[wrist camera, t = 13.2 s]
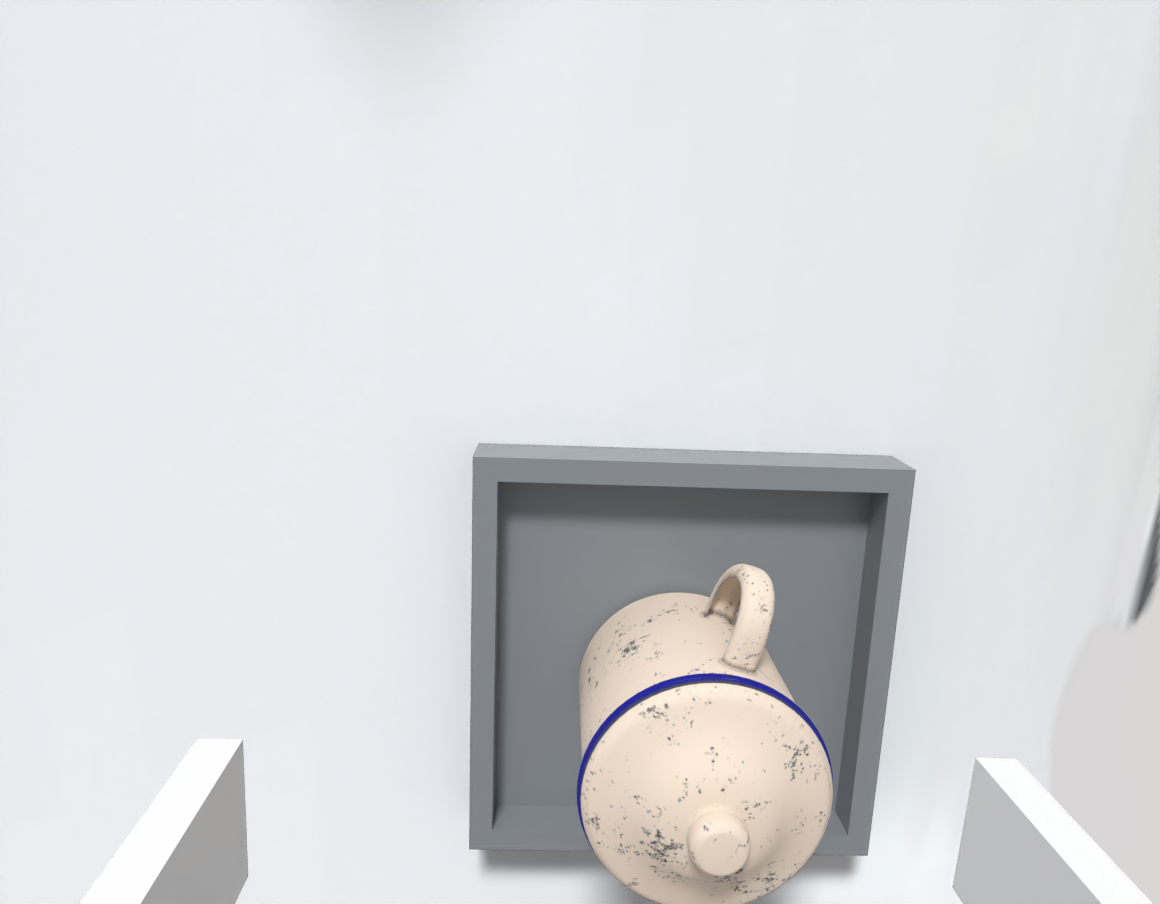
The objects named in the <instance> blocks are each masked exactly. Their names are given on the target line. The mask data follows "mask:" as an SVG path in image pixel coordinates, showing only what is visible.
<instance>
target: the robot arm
mask: <svg viewBox="0 0 1160 904" xmlns="http://www.w3.org/2000/svg"><path fill="white" fill-rule="evenodd" d="M247 877H248V859H247V833H246V807H245V782H244V756H243V739H208V738H198V739H197V740H196V742H195V743H194V744H193V746H192V747H191V749H190V750H189V751H188V753H187V754H186V756H185V757H184V758H183V760H182V761H181V763H180V764H179V765H178V767H177V768H176V769H175V771H174V772H173V774H172V775H171V776H170V778H169V779H168V781H167V782H166V783H165V785H164V786H163V788H162V789H161V790H160V792H159V793H158V795H157V796H156V797H155V799H154V800H153V802H152V803H151V804H150V806H149V807H148V808H147V810H146V811H145V813H144V814H143V815H142V817H141V818H140V820H139V821H138V822H137V824H136V825H135V827H134V828H133V829H132V831H131V832H130V834H129V835H128V836H127V838H126V839H125V841H124V842H123V843H122V845H121V846H120V847H119V849H118V850H117V852H116V853H115V854H114V856H113V857H112V859H111V860H110V861H109V863H108V864H107V866H106V867H105V868H104V870H103V871H102V873H101V874H100V875H99V877H98V878H97V880H96V881H95V882H94V884H93V885H92V887H91V888H90V889H89V891H88V892H87V893H86V895H85V896H84V898H83V899H82V900H81V902H80V903H79V904H235V902H236V900H237V898H238V896H239V894H240V892H241V890H242V887H243V885H244V883H245V881H246V879H247ZM953 889H954V890H955V892H956V893H957V895H958V896H959V898H960V900H961V901H962V903H963V904H1153V903H1152V902H1151V901H1150V900H1149V899H1148V898H1147V897H1146V896H1145V895H1144V894H1143V893H1142V892H1141V891H1140V890H1139V889H1138V887H1137V886H1136V885H1135V884H1134V883H1133V882H1132V881H1131V880H1130V879H1129V878H1128V877H1127V876H1126V875H1125V874H1124V873H1123V872H1122V870H1120V868H1119V867H1118V866H1117V865H1116V864H1115V863H1114V862H1113V861H1112V860H1111V859H1110V858H1109V857H1108V856H1107V855H1106V853H1105V852H1104V851H1103V850H1102V849H1101V848H1100V847H1099V846H1098V845H1097V844H1096V843H1095V842H1094V841H1093V840H1092V839H1091V838H1090V836H1088V834H1087V833H1086V832H1085V831H1084V830H1083V829H1082V828H1081V827H1080V826H1079V825H1078V824H1077V823H1076V822H1075V820H1074V819H1073V818H1072V817H1071V816H1070V815H1069V814H1068V813H1067V812H1066V811H1065V810H1064V809H1063V808H1062V807H1061V806H1060V805H1059V803H1058V802H1057V801H1056V800H1055V799H1054V798H1053V797H1052V796H1051V795H1050V794H1049V793H1048V792H1047V791H1046V790H1045V789H1044V788H1043V786H1042V785H1041V784H1040V783H1039V782H1038V781H1037V780H1036V779H1035V778H1034V777H1033V776H1032V775H1031V774H1030V773H1029V772H1028V771H1027V769H1026V768H1025V767H1024V766H1023V765H1022V764H1021V763H1020V762H1019V761H1018V760H1017V759H1008V758H976V759H975V764H974V770H973V775H972V781H971V787H970V792H969V798H968V804H967V809H966V815H965V820H964V826H963V832H962V837H961V843H960V848H959V854H958V860H957V865H956V871H955V876H954V882H953Z"/></svg>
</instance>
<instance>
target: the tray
mask: <svg viewBox="0 0 1160 904" xmlns="http://www.w3.org/2000/svg"><path fill="white" fill-rule="evenodd" d="M915 472H916V470H915V469H913V468H911V467H910V466H908V465H906V464H904V463H903V462H901V461H899V460H897V459H896V458H894V457H892V456H875V455H842V454H810V453H777V452H744V451H711V450H678V449H646V448H613V447H580V446H547V445H515V444H482V443H479V444H478V447H477V449H476V451H475V453H474V455H473V499H472V609H471V719H470V829H469V849H480V850H544V851H594V850H593V849H592V847H591V846H590V844H589V842H588V840H587V838H586V836H585V833H584V831H583V828H582V825H581V821H580V818H579V813H578V806H577V780H578V775H579V770H580V766H581V762H582V750H581V728H580V705H579V673H580V668H581V664H582V660H583V657H584V654H585V652H586V649H587V647H588V645H589V643H590V641H591V640H592V638H593V637H594V635H595V634H596V632H597V631H598V630H599V629H600V627H601V626H602V625H603V624H604V623H605V622H606V621H607V620H608V619H609V618H610V617H612V616H613V615H614V614H615V613H617V612H618V611H619V610H621V609H622V608H624V607H626V606H628V605H629V604H631V603H633V602H636V601H638V600H640V599H643V598H646V597H649V596H653V595H658V594H664V593H677V592H681V593H692V594H699V595H703V596H707V597H710V596H711V593H712V591H713V589H714V587H715V585H716V584H717V582H718V580H719V579H720V577H721V576H722V575H723V574H724V573H725V572H726V571H727V570H728V569H729V568H731V567H732V566H734V565H737V564H747V565H751V566H754V567H757V568H760V569H762V570H763V571H765V572H766V573H767V574H768V576H769V577H770V579H771V581H772V584H773V587H774V593H775V606H774V615H773V620H772V625H771V629H770V633H769V636H768V639H767V642H766V645H765V647H766V649H767V651H768V653H769V655H770V657H771V659H772V660H773V662H774V664H775V666H776V668H777V670H778V671H779V673H780V675H781V677H782V679H783V681H784V683H785V684H786V686H787V688H788V690H789V692H790V694H791V696H792V697H793V699H794V701H795V703H796V705H797V706H798V707H800V708H801V709H802V710H803V711H804V713H805V714H806V715H807V716H808V717H809V718H810V720H811V721H812V722H813V724H814V725H815V726H816V728H817V730H818V731H819V733H820V735H821V737H822V739H823V741H824V743H825V746H826V748H827V751H828V754H829V757H830V761H831V766H832V772H833V800H832V807H831V813H830V817H829V821H828V824H827V827H826V829H825V832H824V834H823V837H822V839H821V841H820V843H819V845H818V846H817V848H816V850H815V851H814V853H813V854H812V855H859V856H867V855H868V847H869V840H870V832H871V824H872V816H873V808H874V800H875V792H876V784H877V776H878V768H879V760H880V752H881V744H882V736H883V728H884V720H885V712H886V704H887V696H888V688H889V680H890V672H891V664H892V656H893V648H894V640H895V632H896V624H897V616H898V608H899V600H900V592H901V584H902V576H903V568H904V560H905V552H906V544H907V536H908V528H909V520H910V512H911V504H912V496H913V488H914V480H915ZM739 608H740V606H739ZM739 608H738V610H737V612H738V613H739Z"/></svg>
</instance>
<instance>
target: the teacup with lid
mask: <svg viewBox="0 0 1160 904" xmlns="http://www.w3.org/2000/svg"><path fill="white" fill-rule="evenodd" d="M739 606H740V608H739ZM774 606H775V593H774V587H773V584H772V581H771V579H770V577H769V576H768V574H767V573H766V572H765V571H763V570H762V569H760V568H757V567H754V566H751V565H747V564H737V565H734V566H732V567H731V568H729V569H728V570H727V571H726V572H725V573H724V574H723V575H722V576H721V577H720V579H719V580H718V582H717V584H716V585H715V587H714V589H713V591H712V593H711V596H710V597H707V596H703V595H699V594H692V593H681V592H677V593H664V594H658V595H653V596H649V597H646V598H643V599H640V600H638V601H636V602H633V603H631V604H629V605H628V606H626V607H624V608H622V609H621V610H619V611H618V612H617V613H615V614H614V615H613V616H612V617H610V618H609V619H608V620H607V621H606V622H605V623H604V624H603V625H602V626H601V627H600V629H599V630H598V631H597V632H596V634H595V635H594V637H593V638H592V640H591V641H590V643H589V645H588V647H587V649H586V652H585V654H584V657H583V660H582V664H581V668H580V673H579V705H580V728H581V750H582V762H581V766H580V770H579V775H578V780H577V806H578V813H579V818H580V821H581V825H582V828H583V831H584V833H585V836H586V838H587V840H588V842H589V844H590V846H591V847H592V849H593V850H594V852H595V854H596V855H597V857H598V858H599V860H600V861H601V862H602V864H603V865H604V866H605V867H606V869H607V870H608V871H609V872H610V873H611V874H612V875H613V876H614V877H615V878H616V879H618V880H619V881H620V882H621V883H623V884H624V885H625V886H626V887H628V888H629V889H631V890H632V891H634V892H636V893H637V894H639V895H641V896H643V897H645V898H647V899H649V900H652V901H654V902H656V903H659V904H745V903H749V902H751V901H754V900H756V899H759V898H761V897H763V896H765V895H767V894H769V893H770V892H772V891H774V890H775V889H777V888H779V887H780V886H781V885H783V884H784V883H786V882H787V881H788V880H789V879H791V878H792V877H793V876H794V875H795V874H796V873H797V872H798V871H799V870H800V869H801V868H802V867H803V866H804V865H805V864H806V862H807V861H808V860H809V858H810V857H811V856H812V854H813V853H814V851H815V850H816V848H817V846H818V845H819V843H820V841H821V839H822V837H823V834H824V832H825V829H826V827H827V824H828V821H829V817H830V813H831V807H832V800H833V772H832V766H831V761H830V757H829V754H828V751H827V748H826V746H825V743H824V741H823V739H822V737H821V735H820V733H819V731H818V730H817V728H816V726H815V725H814V724H813V722H812V721H811V720H810V718H809V717H808V716H807V715H806V714H805V713H804V711H803V710H802V709H801V708H800V707H798V706H797V705H796V703H795V701H794V699H793V697H792V696H791V694H790V692H789V690H788V688H787V686H786V684H785V683H784V681H783V679H782V677H781V675H780V673H779V671H778V670H777V668H776V666H775V664H774V662H773V660H772V659H771V657H770V655H769V653H768V651H767V649H766V647H765V645H766V642H767V639H768V636H769V633H770V629H771V625H772V620H773V615H774ZM738 608H739V613H738V612H737V610H738Z"/></svg>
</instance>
